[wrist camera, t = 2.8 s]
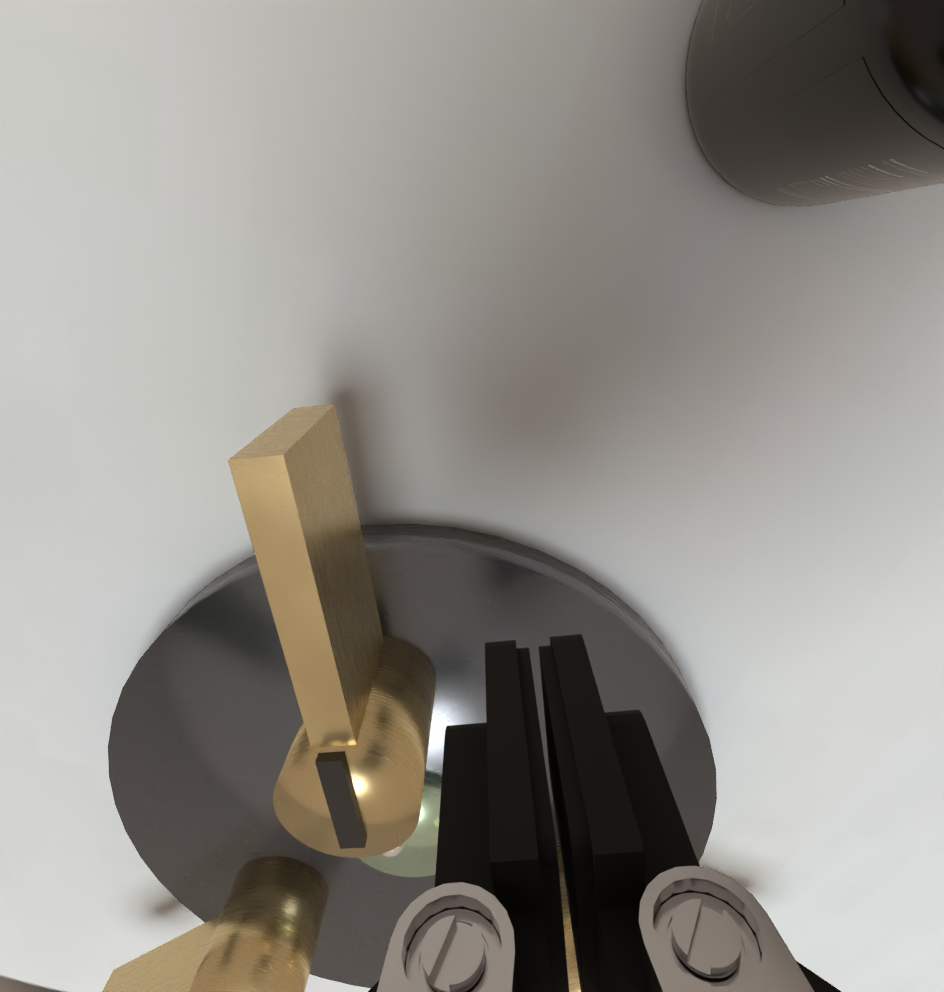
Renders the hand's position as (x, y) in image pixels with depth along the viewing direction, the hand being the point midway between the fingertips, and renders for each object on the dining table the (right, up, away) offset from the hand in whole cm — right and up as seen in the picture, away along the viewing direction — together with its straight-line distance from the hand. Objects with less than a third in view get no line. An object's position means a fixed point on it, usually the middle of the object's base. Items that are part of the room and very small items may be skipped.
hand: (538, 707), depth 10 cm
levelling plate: (-4, -8, +15) cm, 18 cm away
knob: (-12, -15, +16) cm, 25 cm away
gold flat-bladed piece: (-5, +1, +9) cm, 10 cm away
